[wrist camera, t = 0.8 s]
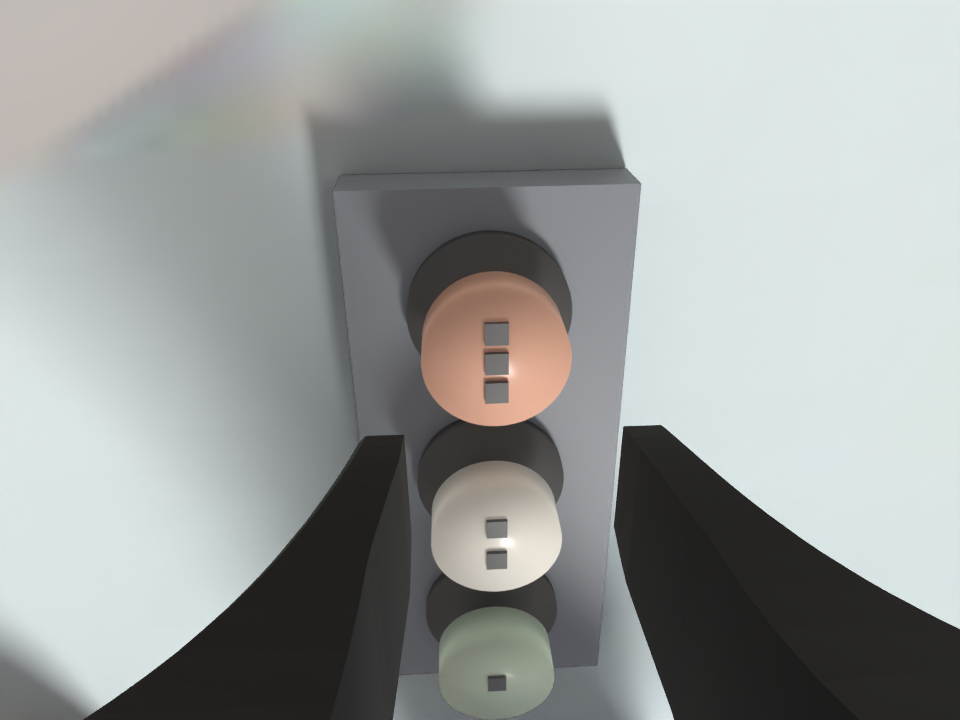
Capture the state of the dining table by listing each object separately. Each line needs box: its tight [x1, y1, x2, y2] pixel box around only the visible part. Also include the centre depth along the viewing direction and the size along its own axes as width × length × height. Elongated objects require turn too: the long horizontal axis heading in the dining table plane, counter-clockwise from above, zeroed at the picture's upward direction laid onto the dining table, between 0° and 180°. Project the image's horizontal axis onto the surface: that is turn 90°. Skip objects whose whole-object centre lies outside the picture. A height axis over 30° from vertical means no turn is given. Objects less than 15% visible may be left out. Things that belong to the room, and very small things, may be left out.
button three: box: [421, 271, 572, 426], centre depth 16 cm, size 3×3×1 cm
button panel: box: [332, 168, 641, 675], centre depth 21 cm, size 16×7×2 cm, turn 1°
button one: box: [439, 607, 555, 720], centre depth 21 cm, size 3×3×1 cm
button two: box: [431, 461, 562, 592], centre depth 18 cm, size 3×3×1 cm
